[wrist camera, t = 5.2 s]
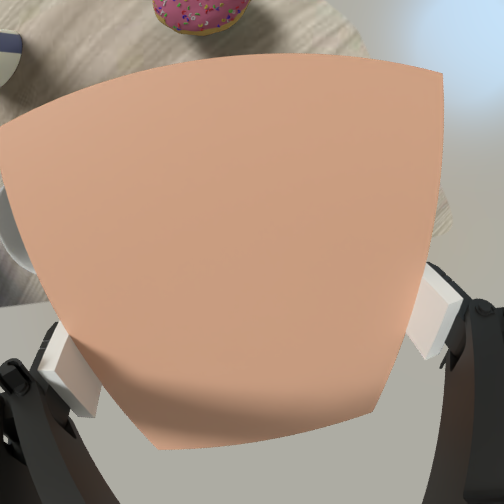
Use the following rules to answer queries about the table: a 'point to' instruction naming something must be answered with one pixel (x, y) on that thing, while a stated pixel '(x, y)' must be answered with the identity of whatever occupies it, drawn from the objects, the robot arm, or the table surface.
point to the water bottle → (9, 54)
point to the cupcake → (199, 15)
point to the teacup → (12, 234)
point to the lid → (234, 235)
